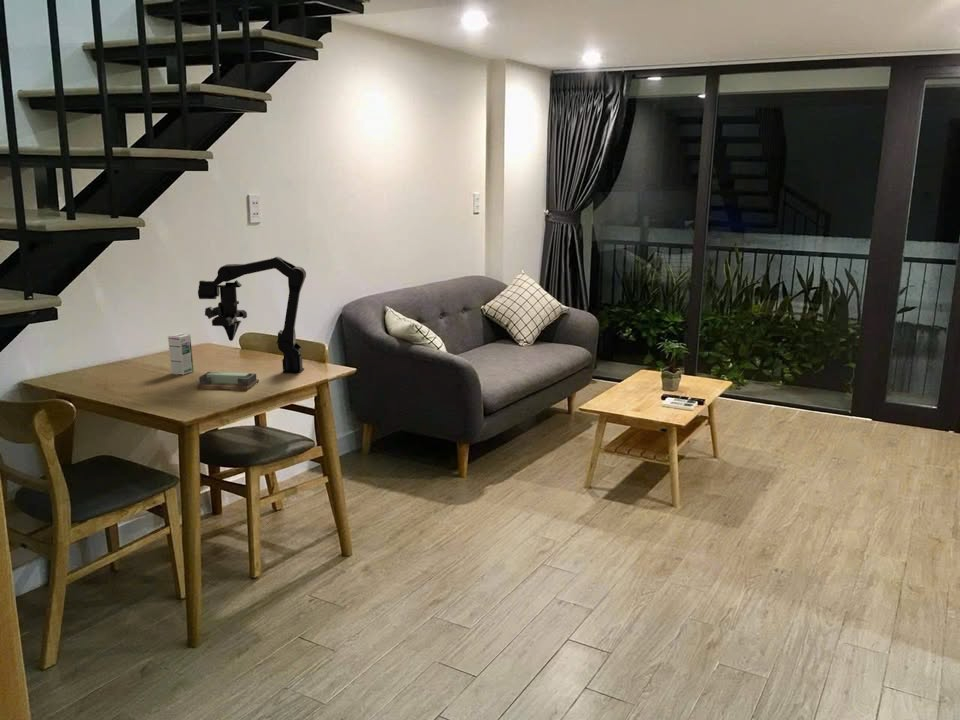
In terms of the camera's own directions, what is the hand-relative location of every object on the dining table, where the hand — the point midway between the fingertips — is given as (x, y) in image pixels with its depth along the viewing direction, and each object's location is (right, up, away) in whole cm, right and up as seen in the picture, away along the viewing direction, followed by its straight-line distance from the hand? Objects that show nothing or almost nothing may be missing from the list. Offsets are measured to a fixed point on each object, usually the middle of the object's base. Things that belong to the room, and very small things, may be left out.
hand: (231, 340), depth 300 cm
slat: (+4, -15, -16) cm, 23 cm away
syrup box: (-18, -12, +1) cm, 22 cm away
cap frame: (+4, -16, -16) cm, 23 cm away
